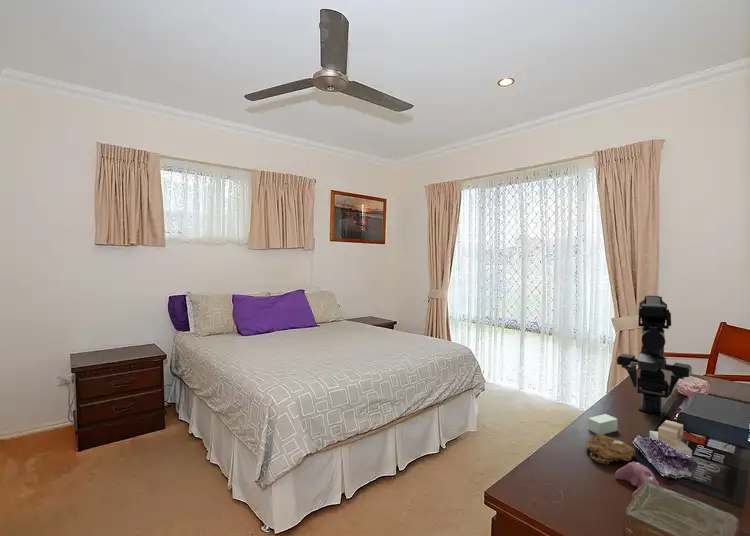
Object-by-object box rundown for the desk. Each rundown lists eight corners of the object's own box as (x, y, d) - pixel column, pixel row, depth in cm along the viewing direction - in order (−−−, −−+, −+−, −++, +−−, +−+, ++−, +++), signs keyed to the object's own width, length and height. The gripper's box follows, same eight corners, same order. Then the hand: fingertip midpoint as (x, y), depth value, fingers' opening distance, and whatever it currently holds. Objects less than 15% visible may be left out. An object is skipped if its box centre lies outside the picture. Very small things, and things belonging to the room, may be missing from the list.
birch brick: (665, 432, 109) (666, 419, 108) (683, 438, 105) (683, 424, 105) (657, 441, 104) (658, 428, 104) (675, 447, 101) (675, 433, 100)
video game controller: (652, 511, 81) (668, 485, 81) (632, 500, 82) (647, 475, 81) (629, 484, 91) (643, 461, 90) (611, 474, 92) (625, 451, 91)
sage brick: (605, 425, 119) (605, 413, 119) (617, 431, 116) (617, 419, 115) (588, 430, 116) (588, 417, 116) (599, 435, 113) (599, 423, 113)
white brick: (649, 440, 110) (649, 430, 110) (672, 442, 109) (672, 433, 108) (666, 458, 101) (666, 447, 100) (691, 461, 99) (692, 450, 99)
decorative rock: (630, 478, 92) (636, 455, 103) (631, 462, 92) (637, 441, 103) (580, 459, 99) (590, 440, 111) (581, 445, 99) (592, 427, 110)
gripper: (611, 342, 118) (611, 389, 119) (685, 353, 104) (685, 406, 105) (622, 337, 126) (621, 381, 126) (692, 347, 112) (691, 396, 112)
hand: (652, 390), depth 117 cm, fingers open, 9 cm apart
